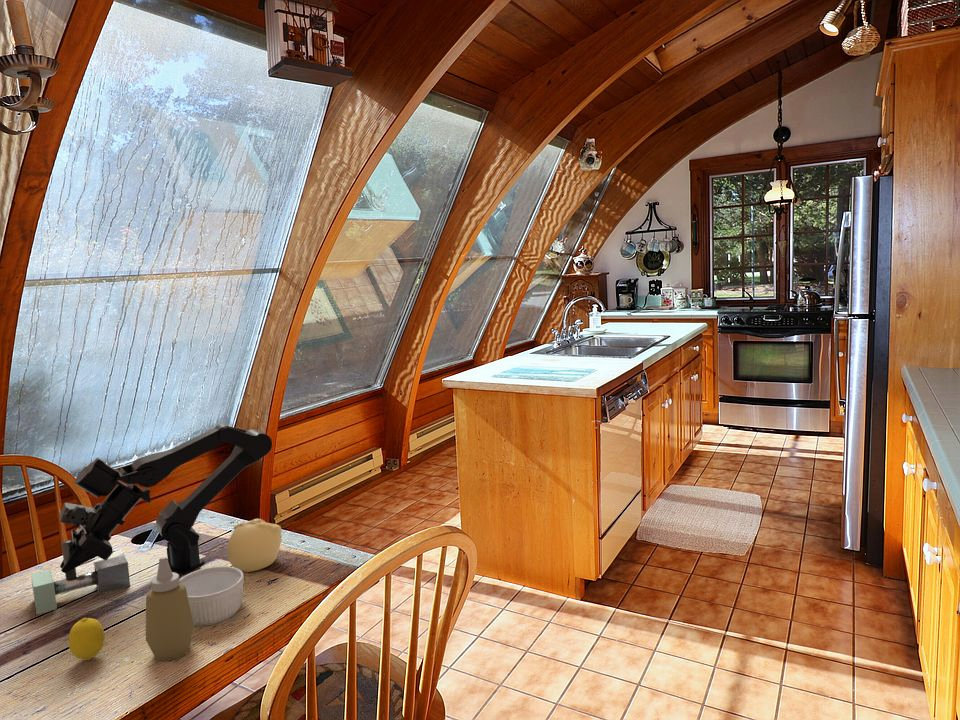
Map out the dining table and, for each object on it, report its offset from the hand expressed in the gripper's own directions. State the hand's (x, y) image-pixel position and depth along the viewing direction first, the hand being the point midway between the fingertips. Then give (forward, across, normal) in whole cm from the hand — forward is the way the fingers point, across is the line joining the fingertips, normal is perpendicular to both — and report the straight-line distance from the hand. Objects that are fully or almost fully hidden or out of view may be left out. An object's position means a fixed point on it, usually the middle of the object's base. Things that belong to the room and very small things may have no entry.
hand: (62, 570), depth 142 cm
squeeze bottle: (-5, +37, +14) cm, 40 cm away
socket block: (+7, 0, +2) cm, 8 cm away
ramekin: (-11, +26, +21) cm, 36 cm away
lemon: (+4, +30, +5) cm, 30 cm away
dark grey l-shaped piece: (+2, 0, +5) cm, 6 cm away
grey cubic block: (-2, 0, +11) cm, 11 cm away
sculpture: (-22, +10, +31) cm, 39 cm away
